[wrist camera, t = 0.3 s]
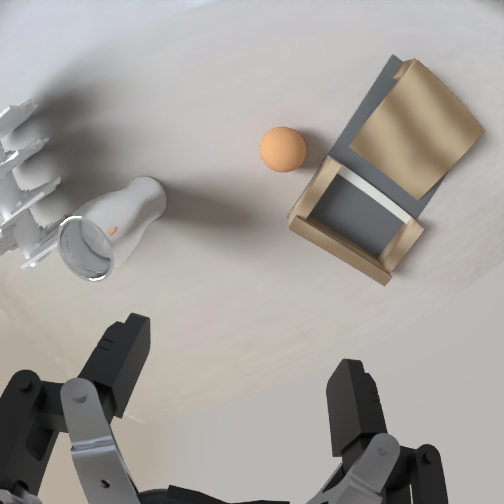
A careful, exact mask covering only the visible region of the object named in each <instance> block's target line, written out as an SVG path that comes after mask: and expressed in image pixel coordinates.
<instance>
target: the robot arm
mask: <svg viewBox="0 0 504 504" xmlns="http://www.w3.org/2000/svg"><path fill="white" fill-rule="evenodd" d="M150 342H151V341H150V318H149V317H145V316H142V315H139V314H135V313H131V314H130V315H129V317H128V318H127V320H126V322H125V323H121V322H118V321H117V322H115V323H114V324H113V325H111V326H110V327H108V328H107V330H106V331H105V333H104V334H103V336H102V339H100V341H99V342H98V344H97V347H95V349H94V351H93V352H92V354H91V356H90V357H89V359H88V361H87V362H86V364H85V366H84V368H83V369H82V371H81V373H80V374H79V376H78V377H77V378H73V379H70V380H68V381H67V382H66V383H54V382H47V381H41V380H40V378H39V376H38V375H37V374H36V373H35V372H33V371H31V370H21V371H18V372H16V373H15V374H14V375H13V376H12V378H11V380H10V381H9V383H8V385H7V387H6V389H5V390H4V392H3V394H2V396H1V398H0V504H43V503H42V502H41V500H40V499H39V498H38V497H37V495H38V492H39V488H40V485H41V482H42V478H43V476H44V472H45V470H46V467H47V464H48V461H49V458H50V455H51V452H52V450H53V447H54V444H55V442H56V439H57V437H58V434H59V432H66V433H69V436H70V439H71V443H72V448H71V455H72V459H73V462H74V465H75V468H76V471H77V474H78V477H79V479H80V482H81V485H82V488H83V490H84V493H85V495H86V498H87V500H88V503H89V504H290V502H287V501H267V500H266V501H265V500H259V501H251V502H242V503H226V502H223V501H221V500H219V499H216V498H213V497H211V496H208V495H206V494H204V493H201V492H199V491H193V490H189V489H184V488H180V487H176V486H172V485H169V488H168V489H153V490H147V491H144V492H140V493H139V491H138V489H137V487H136V485H135V483H134V481H133V479H132V476H131V474H130V472H129V470H128V468H127V466H126V464H125V462H124V459H123V457H122V455H121V452H120V450H119V447H118V445H117V443H116V440H115V437H114V435H113V432H112V429H111V426H110V424H111V421H112V419H113V416H116V417H118V418H122V416H123V413H124V411H125V408H126V406H127V404H128V401H129V399H130V396H131V394H132V391H133V389H134V387H135V384H136V382H137V380H138V377H139V375H140V373H141V370H142V368H143V366H144V363H145V361H146V359H147V356H148V354H149V350H150ZM326 395H327V403H328V413H329V422H330V432H331V443H332V454H333V457H342V463H340V465H339V466H338V467H337V469H336V470H335V471H334V473H333V474H332V475H331V477H330V478H329V479H328V481H327V482H326V483H325V484H324V486H323V487H322V488H321V490H320V491H319V492H318V493H317V494H316V495H315V496H314V497H313V498H312V499H311V500H309V501H308V502H307V503H306V504H411V493H410V485H411V488H412V498H413V504H448V497H447V490H446V484H445V478H444V473H443V467H442V463H441V457H440V454H439V452H438V450H437V449H436V448H435V447H434V446H432V445H429V444H424V445H422V446H420V447H419V448H418V449H412V448H407V447H404V446H400V445H399V443H398V441H397V440H396V438H394V437H393V436H392V435H390V434H388V432H387V428H386V424H385V419H384V415H383V411H382V407H381V403H380V399H379V395H378V391H377V387H376V383H375V381H374V380H373V378H372V377H371V375H370V374H369V373H365V371H364V368H363V364H362V362H361V361H360V360H351V359H343V360H342V361H341V362H340V364H339V365H338V367H337V368H336V370H335V371H334V373H333V374H332V376H331V377H330V379H329V381H328V383H327V388H326Z"/></svg>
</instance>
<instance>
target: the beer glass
mask: <svg viewBox="0 0 504 504" xmlns="http://www.w3.org/2000/svg"><path fill="white" fill-rule="evenodd" d="M166 205H167V196H166V192H165V190H164V188H163V186H162V185H161V184H160V183H159V182H158V181H157V180H155V179H153V178H151V177H146V176H143V177H138V178H136V179H134V180H132V181H131V182H130V183H129V184H128V186H127V187H126V188H125V189H122V190H118V191H114V192H110V193H107V194H104V195H101V196H98V197H96V198H95V199H93V200H91V201H89V202H88V203H86V204H85V205H83V206H82V207H80V208H79V209H78V210H77V211H75V212H74V213H73V214H72V215H71V216H70V217H68V218H67V219H65V220H64V221H63V222H62V224H61V225H60V227H59V230H58V234H57V244H58V249H59V252H60V255H61V257H62V259H63V261H64V263H65V264H66V265H67V267H68V268H69V269H70V270H71V271H72V272H73V273H74V274H75V275H77V276H78V277H80V278H82V279H84V280H86V281H90V282H99V281H102V280H104V279H106V278H107V277H108V276H109V275H110V274H111V273H112V272H113V271H114V270H115V269H116V268H117V267H118V266H119V265H121V264H122V263H123V262H124V261H125V259H126V258H127V257H128V256H129V255H130V254H131V253H132V251H133V250H134V249H135V248H136V246H137V244H138V243H139V241H140V239H141V237H142V235H143V233H144V232H145V229H146V227H147V226H148V224H149V223H150V222H151V221H153V220H155V219H157V218H159V217H160V216H161V215H162V214H163V212H164V211H165V208H166Z"/></svg>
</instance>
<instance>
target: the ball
mask: <svg viewBox="0 0 504 504" xmlns="http://www.w3.org/2000/svg"><path fill="white" fill-rule="evenodd" d="M260 156H261V158H262V160H263V162H264V163H265V165H266V166H268V167H269V168H270V169H272V170H274V171H277V172H290V171H293V170H295V169H296V168H298V167H299V166H300V165H301V164H302V162H303V161H304V159H305V156H306V144H305V141H304V139H303V138H302V136H301V135H300V134H299V133H298V132H297V131H295V130H293V129H291V128H288V127H277V128H274V129H272V130H270V131H268V132H267V133H266V134H265V135H264V137H263V138H262V140H261V143H260Z"/></svg>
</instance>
